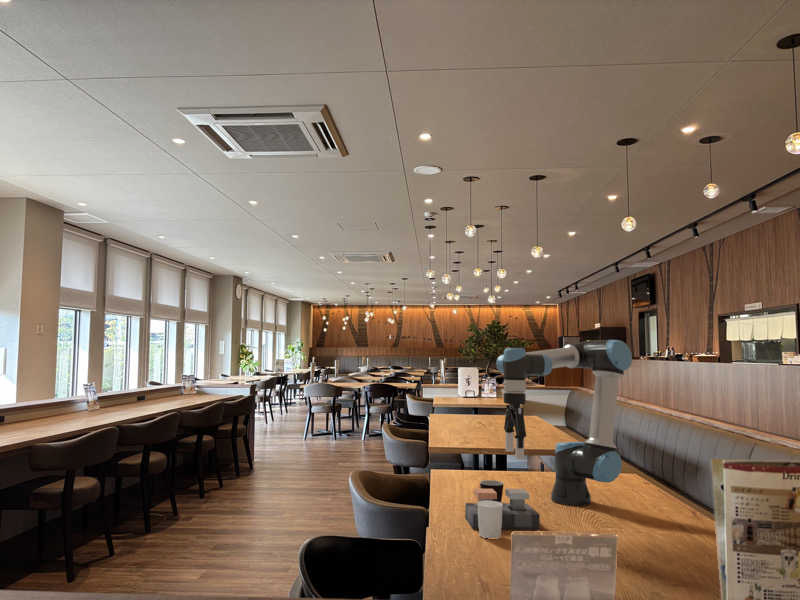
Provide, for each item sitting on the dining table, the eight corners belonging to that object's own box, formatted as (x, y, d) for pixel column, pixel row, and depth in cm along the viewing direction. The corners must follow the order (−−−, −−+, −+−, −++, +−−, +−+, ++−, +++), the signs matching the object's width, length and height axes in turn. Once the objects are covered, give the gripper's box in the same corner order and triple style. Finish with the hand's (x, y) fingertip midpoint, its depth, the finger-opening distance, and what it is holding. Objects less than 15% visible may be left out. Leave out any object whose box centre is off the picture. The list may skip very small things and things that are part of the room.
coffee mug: (503, 514, 200) (503, 486, 201) (479, 512, 202) (479, 484, 203) (503, 506, 212) (503, 479, 213) (480, 504, 213) (481, 478, 215)
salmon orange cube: (492, 506, 193) (492, 488, 193) (496, 511, 186) (496, 493, 187) (474, 506, 192) (474, 488, 193) (477, 511, 186) (478, 492, 186)
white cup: (496, 542, 170) (497, 508, 171) (473, 537, 174) (473, 504, 175) (506, 535, 176) (506, 502, 177) (483, 531, 180) (483, 499, 181)
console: (527, 518, 197) (527, 503, 197) (539, 530, 183) (539, 514, 183) (465, 517, 195) (465, 503, 196) (473, 530, 181) (473, 514, 182)
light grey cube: (523, 506, 193) (523, 488, 194) (529, 511, 187) (529, 493, 188) (505, 506, 193) (505, 488, 193) (510, 511, 186) (510, 493, 187)
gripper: (495, 390, 207) (495, 448, 205) (512, 394, 182) (512, 461, 180) (515, 390, 207) (515, 449, 205) (535, 394, 183) (535, 461, 180)
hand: (514, 454), depth 192 cm, fingers open, 13 cm apart
